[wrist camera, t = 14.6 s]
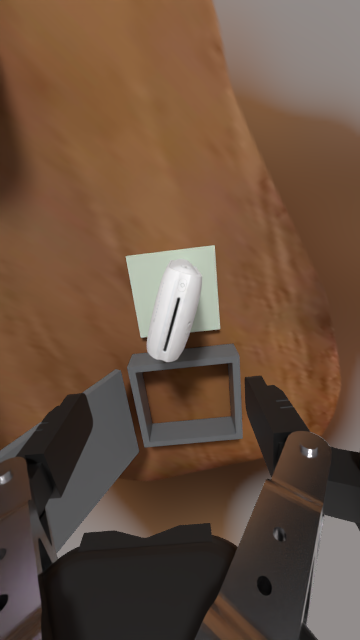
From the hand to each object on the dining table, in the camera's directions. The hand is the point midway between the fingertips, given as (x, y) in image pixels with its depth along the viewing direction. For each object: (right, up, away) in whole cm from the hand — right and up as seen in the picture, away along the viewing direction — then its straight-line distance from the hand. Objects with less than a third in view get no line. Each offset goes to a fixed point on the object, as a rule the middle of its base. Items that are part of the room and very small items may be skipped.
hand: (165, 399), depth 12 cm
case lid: (-11, -13, +17) cm, 24 cm away
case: (+2, -8, +28) cm, 29 cm away
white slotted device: (0, +8, +22) cm, 23 cm away
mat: (0, +8, +23) cm, 24 cm away
